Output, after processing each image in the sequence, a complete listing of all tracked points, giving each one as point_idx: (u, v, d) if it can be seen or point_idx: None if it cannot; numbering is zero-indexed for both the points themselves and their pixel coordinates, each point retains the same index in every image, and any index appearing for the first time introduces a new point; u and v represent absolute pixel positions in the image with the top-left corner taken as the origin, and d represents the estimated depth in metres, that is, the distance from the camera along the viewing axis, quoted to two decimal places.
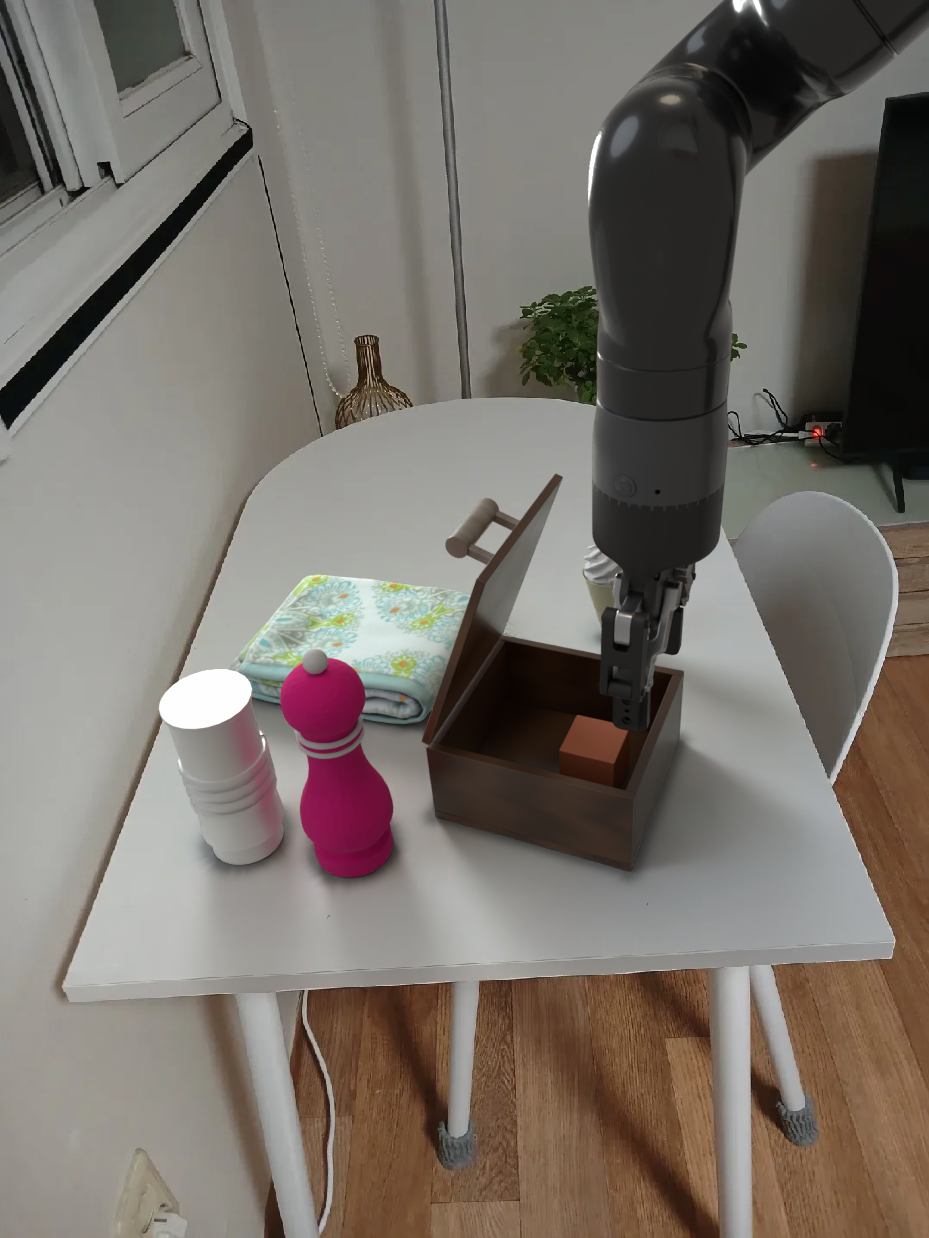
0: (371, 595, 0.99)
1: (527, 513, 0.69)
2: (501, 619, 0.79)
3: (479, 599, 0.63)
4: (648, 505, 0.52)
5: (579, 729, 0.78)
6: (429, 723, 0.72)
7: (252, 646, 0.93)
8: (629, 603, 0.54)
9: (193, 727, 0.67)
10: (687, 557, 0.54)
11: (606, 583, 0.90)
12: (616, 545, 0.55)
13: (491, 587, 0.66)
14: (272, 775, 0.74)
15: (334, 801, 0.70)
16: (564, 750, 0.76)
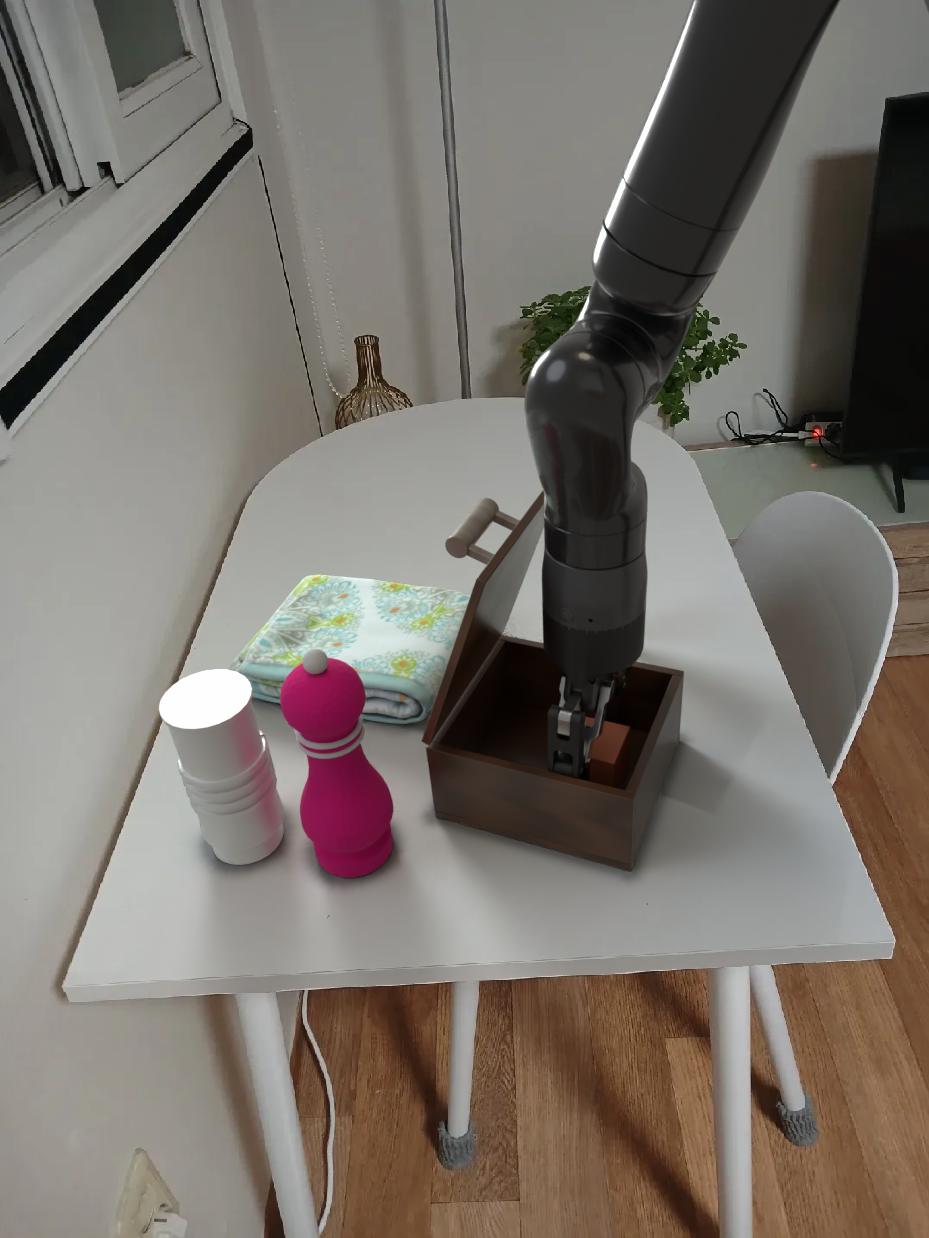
0: (371, 595, 0.99)
1: (527, 513, 0.69)
2: (501, 619, 0.79)
3: (479, 599, 0.63)
4: (583, 629, 0.66)
5: None
6: (429, 723, 0.72)
7: (252, 646, 0.93)
8: (570, 702, 0.69)
9: (193, 727, 0.67)
10: (615, 667, 0.68)
11: None
12: (560, 656, 0.69)
13: (491, 587, 0.66)
14: (272, 775, 0.74)
15: (334, 801, 0.70)
16: None
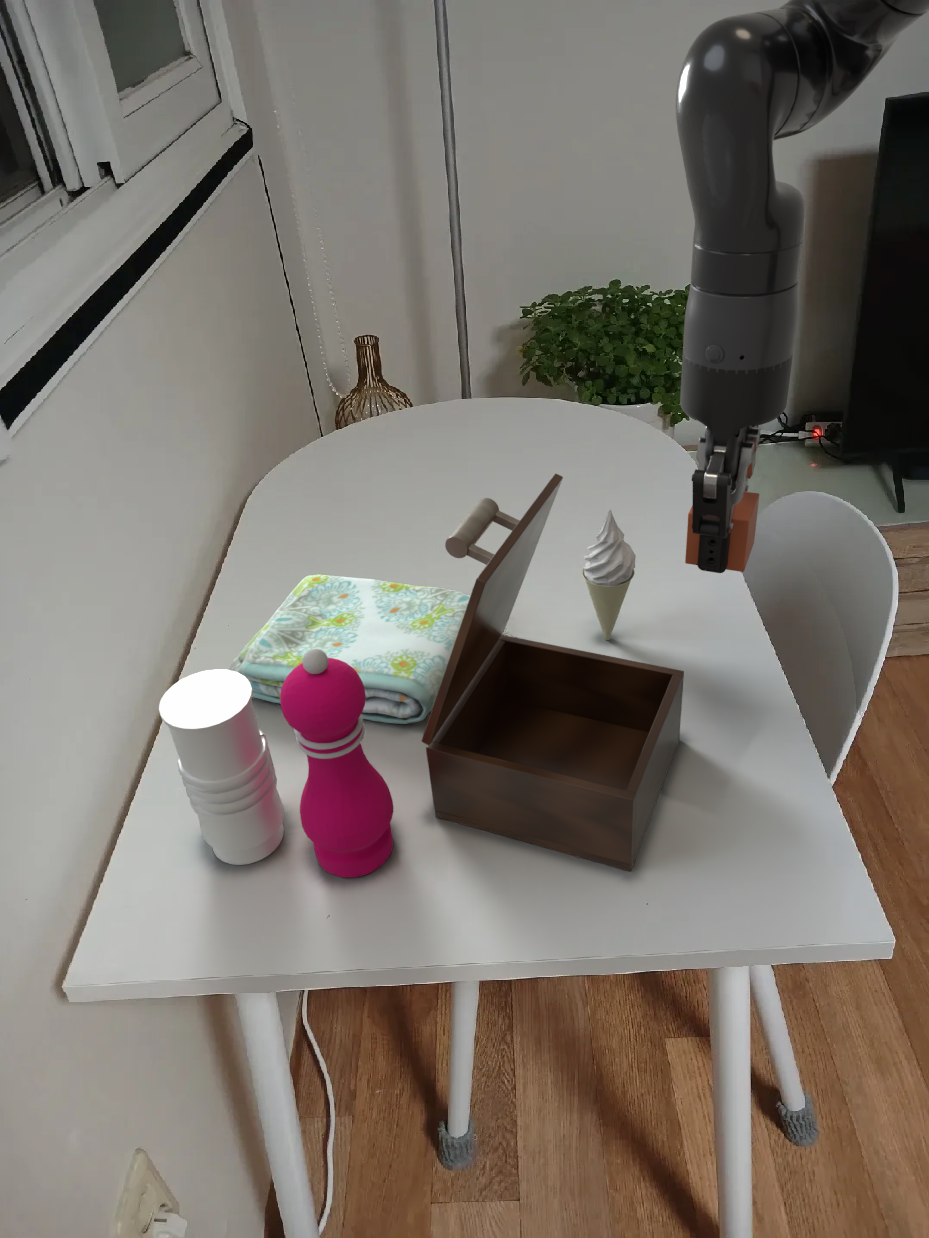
0: (371, 595, 0.99)
1: (527, 513, 0.69)
2: (501, 619, 0.79)
3: (479, 599, 0.63)
4: (733, 369, 0.64)
5: None
6: (429, 723, 0.72)
7: (252, 646, 0.93)
8: (713, 464, 0.67)
9: (193, 727, 0.67)
10: (762, 416, 0.66)
11: (606, 583, 0.90)
12: (704, 407, 0.67)
13: (491, 587, 0.66)
14: (272, 775, 0.74)
15: (334, 801, 0.70)
16: None
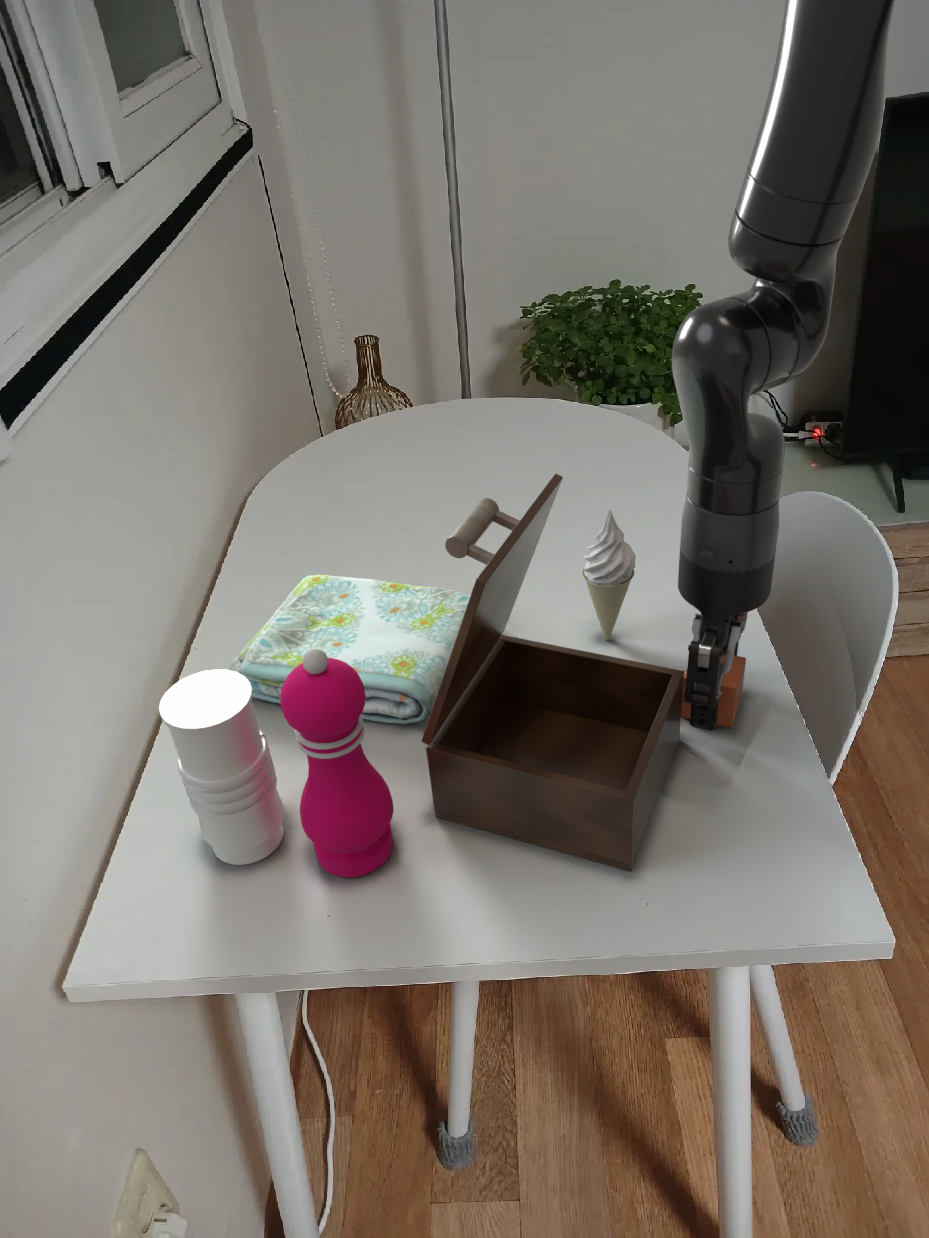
0: (371, 595, 0.99)
1: (527, 513, 0.69)
2: (501, 619, 0.79)
3: (479, 599, 0.63)
4: (723, 571, 0.74)
5: None
6: (429, 723, 0.72)
7: (252, 646, 0.93)
8: (707, 638, 0.77)
9: (193, 727, 0.67)
10: (749, 606, 0.76)
11: (606, 583, 0.90)
12: (698, 597, 0.77)
13: (491, 587, 0.66)
14: (272, 775, 0.74)
15: (334, 801, 0.70)
16: None
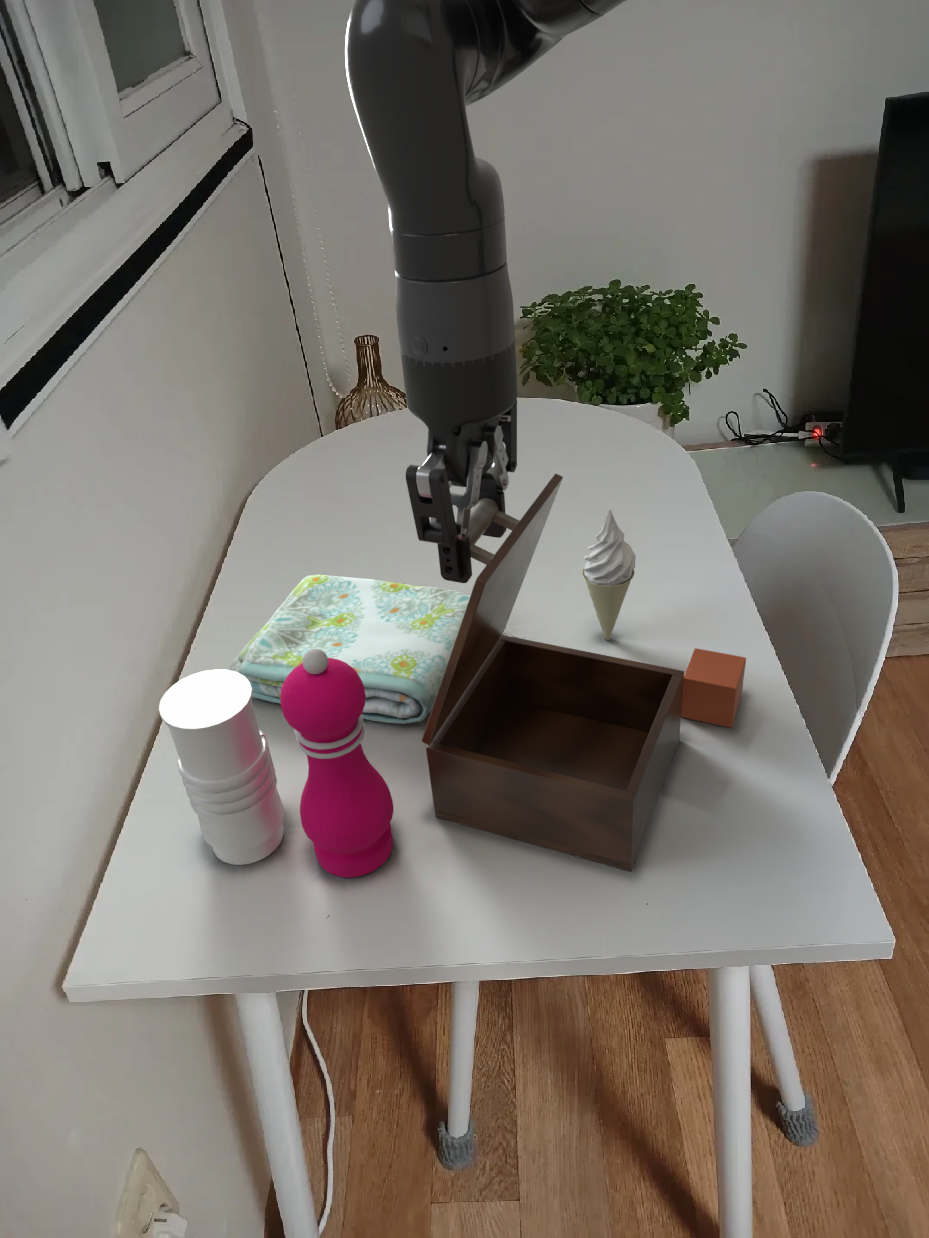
0: (371, 595, 0.99)
1: (527, 513, 0.69)
2: (501, 619, 0.79)
3: (479, 599, 0.63)
4: (439, 362, 0.59)
5: (699, 660, 0.85)
6: (429, 723, 0.72)
7: (252, 646, 0.93)
8: (431, 460, 0.62)
9: (193, 727, 0.67)
10: (480, 412, 0.61)
11: (606, 583, 0.90)
12: (419, 403, 0.62)
13: (491, 587, 0.66)
14: (272, 775, 0.74)
15: (334, 801, 0.70)
16: (688, 678, 0.84)
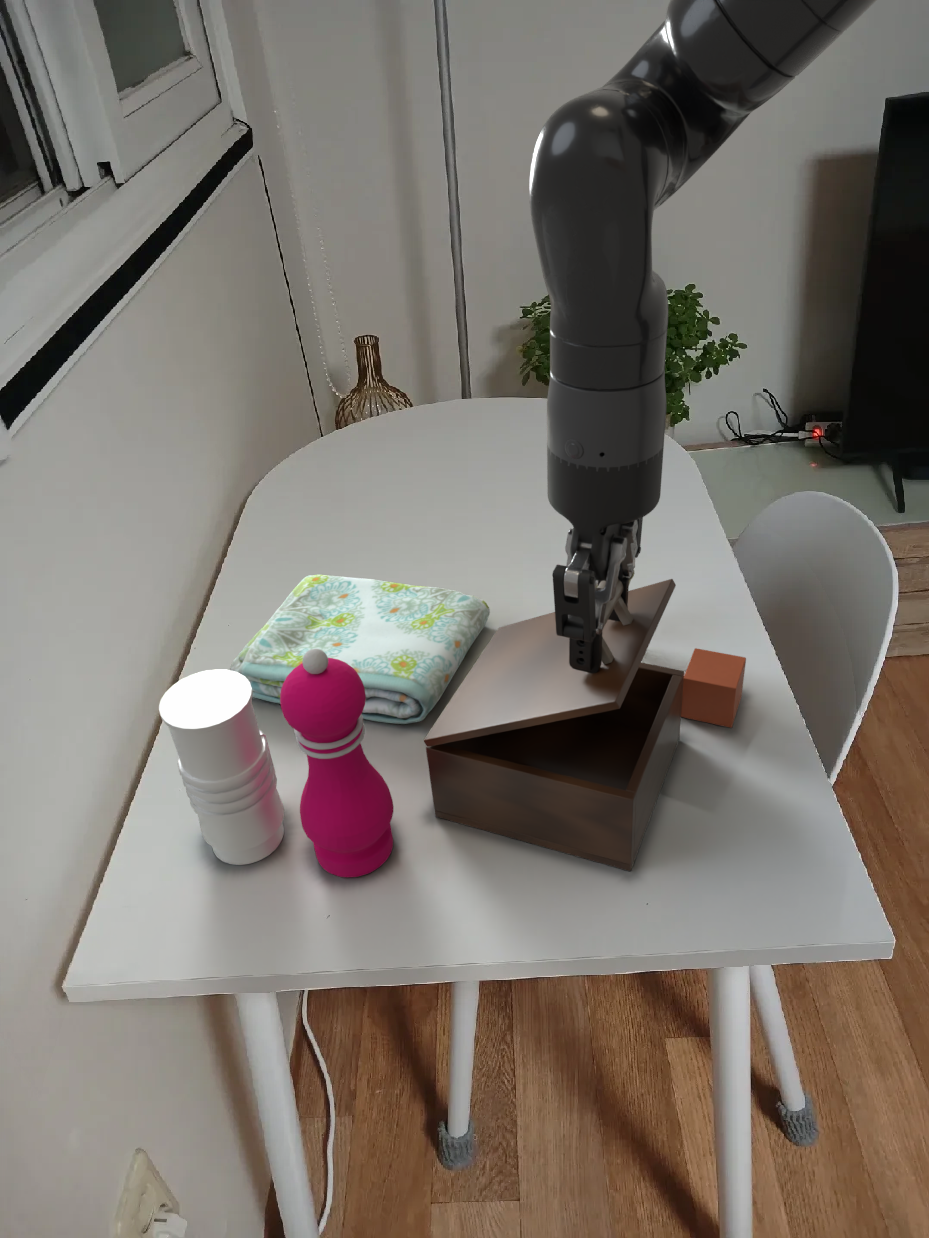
0: (371, 595, 0.99)
1: (652, 626, 0.70)
2: None
3: (600, 711, 0.65)
4: (594, 466, 0.59)
5: (699, 660, 0.85)
6: (447, 737, 0.73)
7: (252, 646, 0.93)
8: (577, 560, 0.62)
9: (193, 727, 0.67)
10: (629, 514, 0.61)
11: None
12: (567, 503, 0.61)
13: None
14: (272, 775, 0.74)
15: (334, 801, 0.70)
16: (688, 678, 0.84)
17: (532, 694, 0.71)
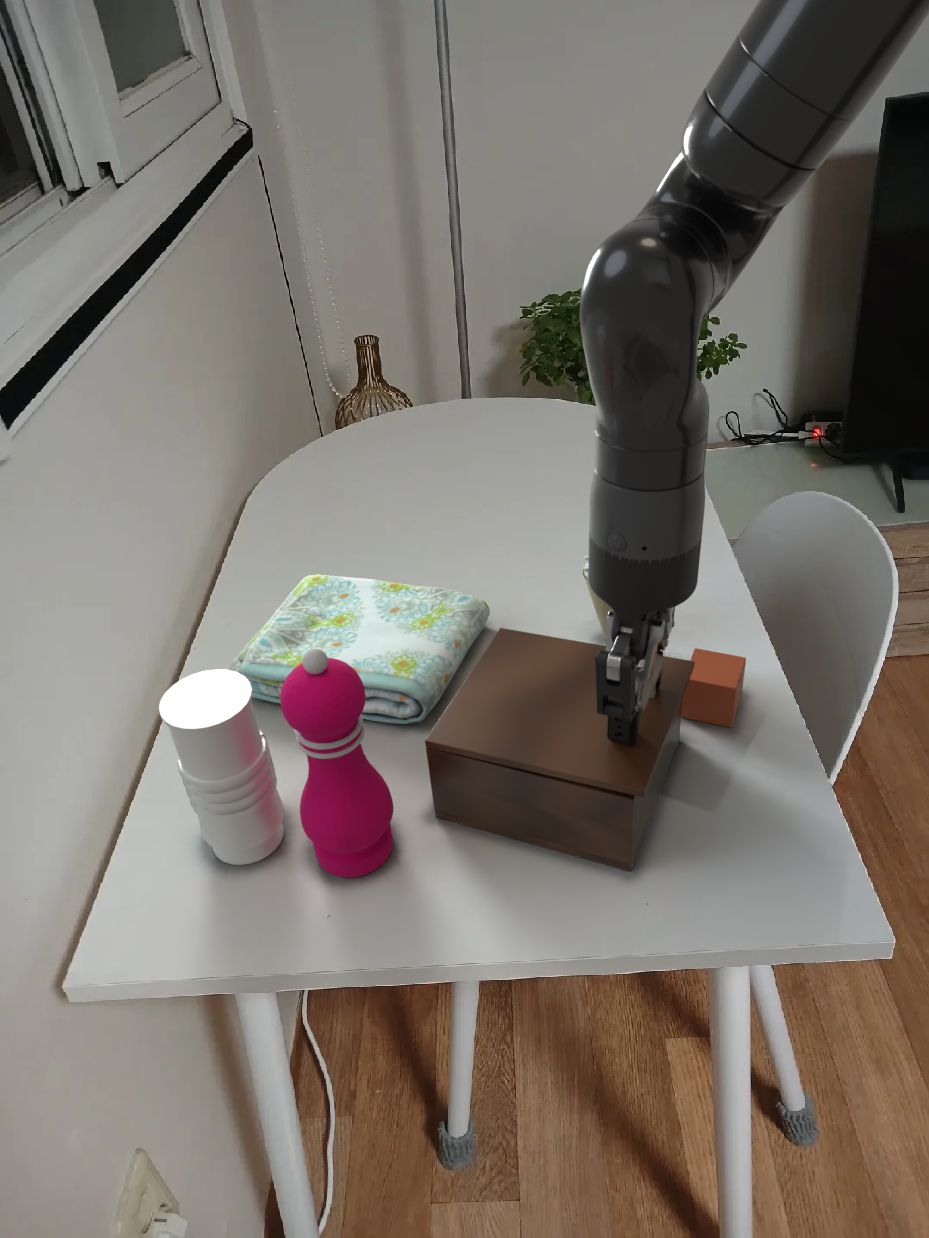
0: (371, 595, 0.99)
1: (675, 711, 0.74)
2: None
3: (623, 792, 0.68)
4: (636, 559, 0.61)
5: (699, 660, 0.85)
6: (452, 748, 0.73)
7: (252, 646, 0.93)
8: (618, 645, 0.64)
9: (193, 727, 0.67)
10: (669, 602, 0.63)
11: None
12: (609, 590, 0.64)
13: None
14: (272, 775, 0.74)
15: (334, 801, 0.70)
16: None
17: (549, 738, 0.73)
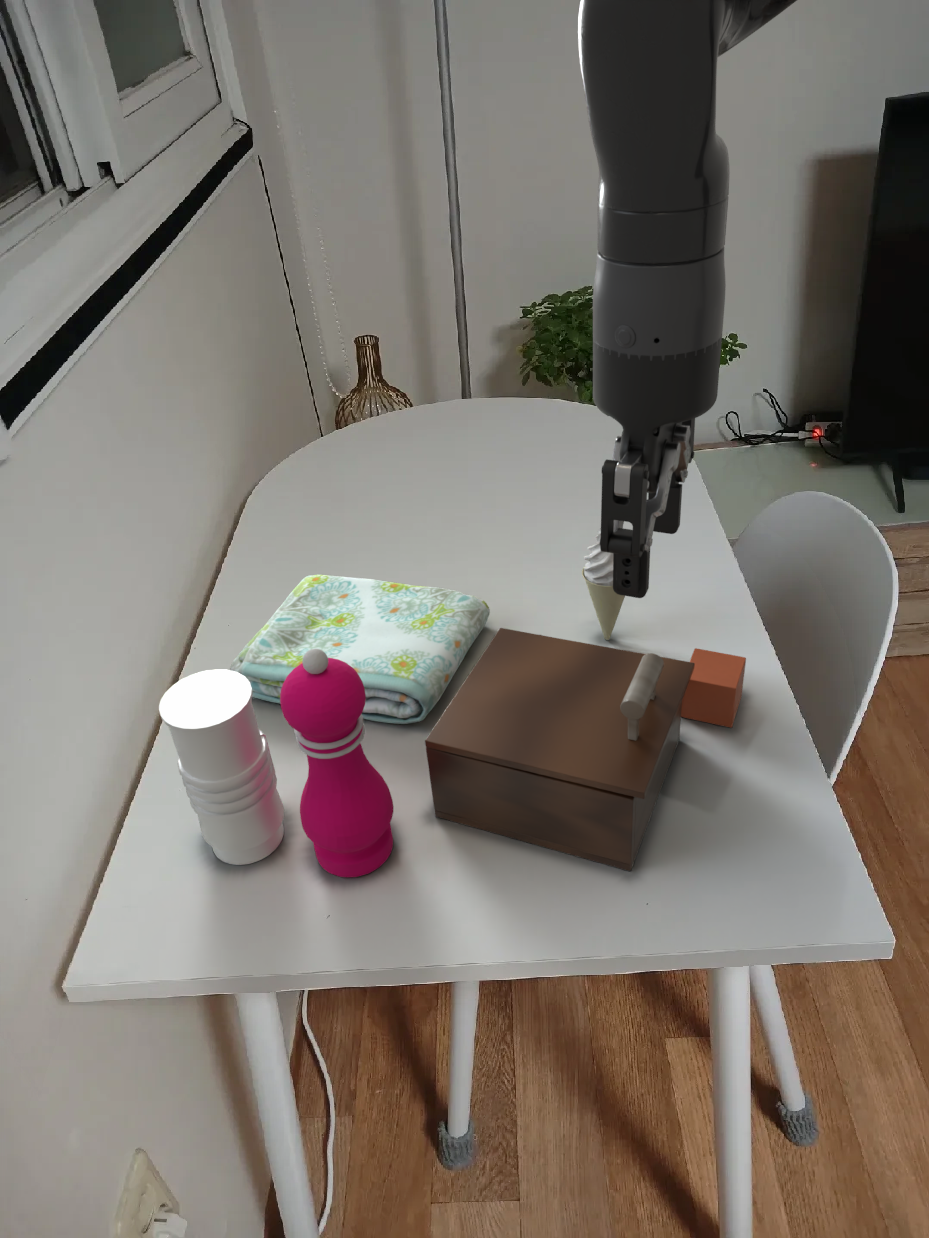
0: (371, 595, 0.99)
1: (675, 713, 0.74)
2: None
3: (623, 793, 0.68)
4: (647, 355, 0.53)
5: (699, 660, 0.85)
6: (452, 748, 0.73)
7: (252, 646, 0.93)
8: (629, 457, 0.56)
9: (193, 727, 0.67)
10: (685, 411, 0.55)
11: (606, 583, 0.90)
12: (616, 401, 0.56)
13: None
14: (272, 775, 0.74)
15: (334, 801, 0.70)
16: None
17: (549, 738, 0.73)
